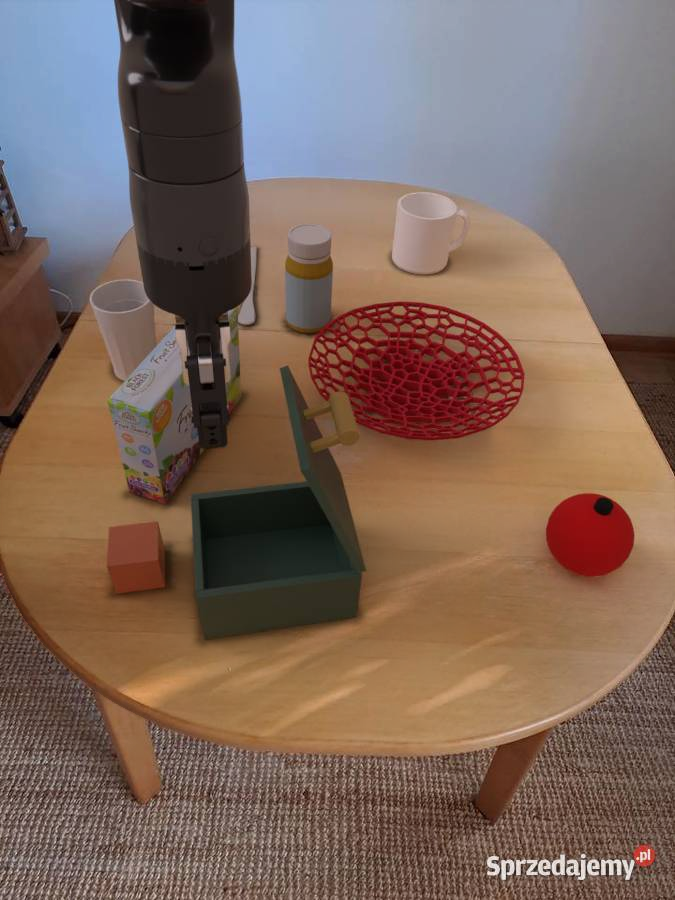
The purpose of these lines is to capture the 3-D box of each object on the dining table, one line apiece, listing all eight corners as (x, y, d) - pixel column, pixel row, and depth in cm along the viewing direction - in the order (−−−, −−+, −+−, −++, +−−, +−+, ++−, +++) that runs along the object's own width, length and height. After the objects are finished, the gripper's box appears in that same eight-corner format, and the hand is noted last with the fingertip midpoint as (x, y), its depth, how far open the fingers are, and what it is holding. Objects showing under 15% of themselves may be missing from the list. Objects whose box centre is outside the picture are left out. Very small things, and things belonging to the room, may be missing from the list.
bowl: (347, 311, 108) (349, 284, 104) (530, 355, 102) (538, 328, 98) (274, 429, 88) (273, 400, 85) (495, 492, 82) (504, 464, 79)
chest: (203, 640, 67) (195, 597, 61) (198, 539, 75) (190, 494, 70) (356, 617, 69) (362, 575, 64) (334, 522, 78) (337, 477, 72)
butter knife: (235, 323, 103) (254, 323, 104) (245, 245, 120) (261, 245, 120) (235, 325, 104) (254, 325, 104) (245, 247, 120) (261, 247, 121)
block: (116, 593, 70) (106, 566, 66) (118, 554, 73) (108, 526, 70) (165, 587, 71) (158, 559, 67) (164, 549, 74) (158, 521, 71)
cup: (172, 353, 98) (160, 281, 90) (156, 388, 93) (142, 315, 84) (118, 348, 99) (101, 276, 90) (100, 383, 93) (80, 310, 85)
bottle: (278, 328, 104) (276, 239, 93) (296, 305, 109) (297, 218, 98) (320, 340, 102) (323, 250, 92) (336, 316, 107) (341, 228, 96)
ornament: (558, 514, 80) (584, 457, 73) (630, 555, 76) (664, 499, 69) (522, 561, 75) (546, 504, 68) (597, 608, 71) (630, 553, 64)
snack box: (170, 507, 78) (150, 412, 68) (127, 494, 79) (101, 398, 69) (245, 396, 93) (238, 303, 82) (208, 386, 94) (197, 293, 83)
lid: (300, 470, 52) (361, 448, 51) (279, 368, 60) (331, 348, 60) (358, 573, 63) (408, 556, 63) (334, 476, 72) (377, 460, 72)
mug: (389, 271, 117) (395, 215, 110) (393, 243, 124) (400, 189, 117) (461, 279, 116) (472, 224, 109) (461, 251, 123) (472, 197, 116)
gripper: (136, 182, 49) (163, 359, 60) (132, 290, 39) (165, 476, 51) (240, 180, 50) (247, 354, 62) (261, 284, 40) (264, 467, 52)
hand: (210, 409), depth 56 cm, fingers open, 8 cm apart
